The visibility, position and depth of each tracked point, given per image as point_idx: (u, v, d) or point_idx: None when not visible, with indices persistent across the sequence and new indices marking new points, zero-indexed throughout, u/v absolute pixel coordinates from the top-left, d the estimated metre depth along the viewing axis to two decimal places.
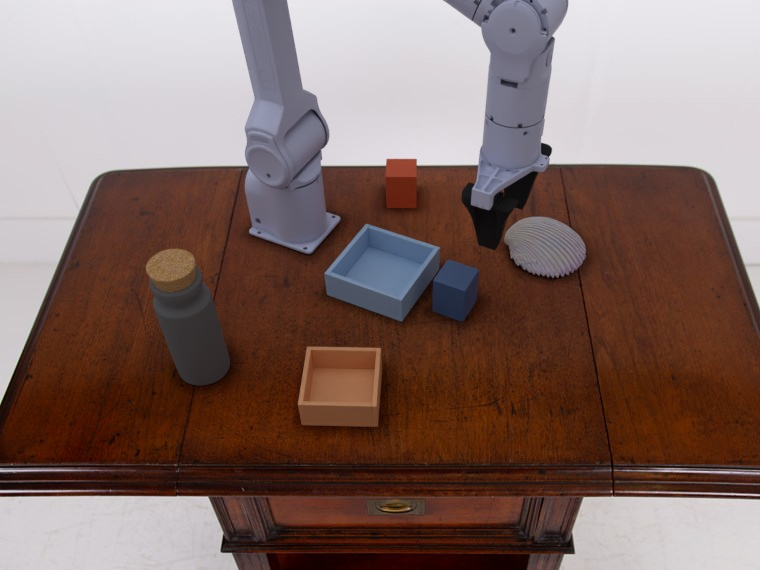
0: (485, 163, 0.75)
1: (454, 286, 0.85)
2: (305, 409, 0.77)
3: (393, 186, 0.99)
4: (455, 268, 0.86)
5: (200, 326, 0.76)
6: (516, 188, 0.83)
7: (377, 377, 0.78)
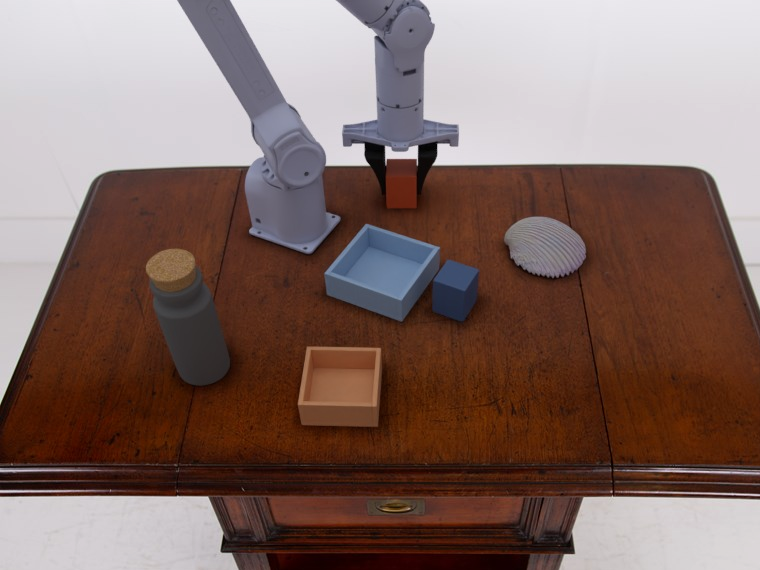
0: None
1: (454, 286, 0.85)
2: (305, 409, 0.77)
3: (393, 186, 0.99)
4: (455, 268, 0.86)
5: (200, 326, 0.76)
6: (417, 174, 1.00)
7: (377, 377, 0.78)
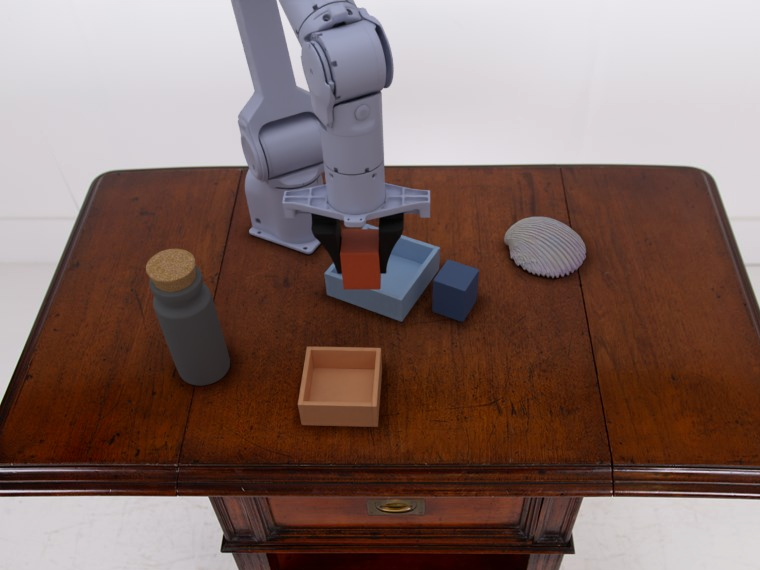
0: None
1: (454, 286, 0.85)
2: (305, 409, 0.77)
3: (350, 264, 0.79)
4: (455, 268, 0.86)
5: (200, 326, 0.76)
6: None
7: (377, 377, 0.78)
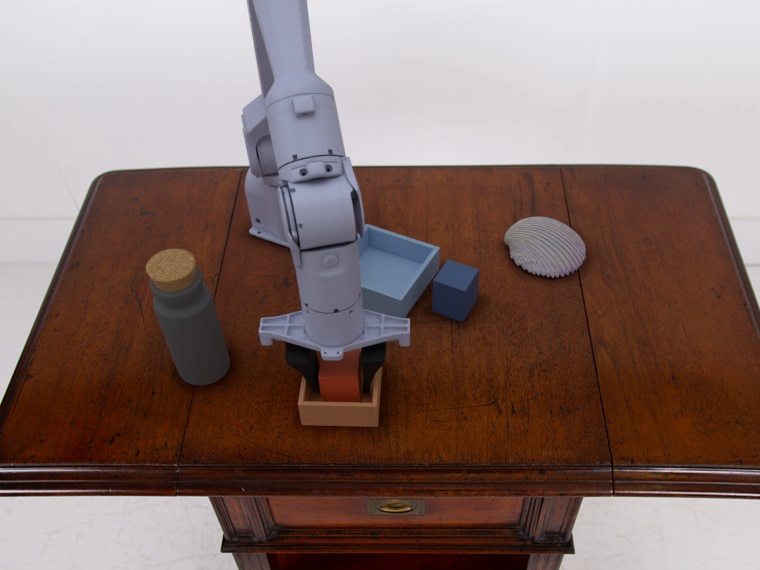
0: None
1: (454, 286, 0.85)
2: (305, 409, 0.77)
3: (329, 386, 0.77)
4: (455, 268, 0.86)
5: (200, 326, 0.76)
6: None
7: (377, 377, 0.78)
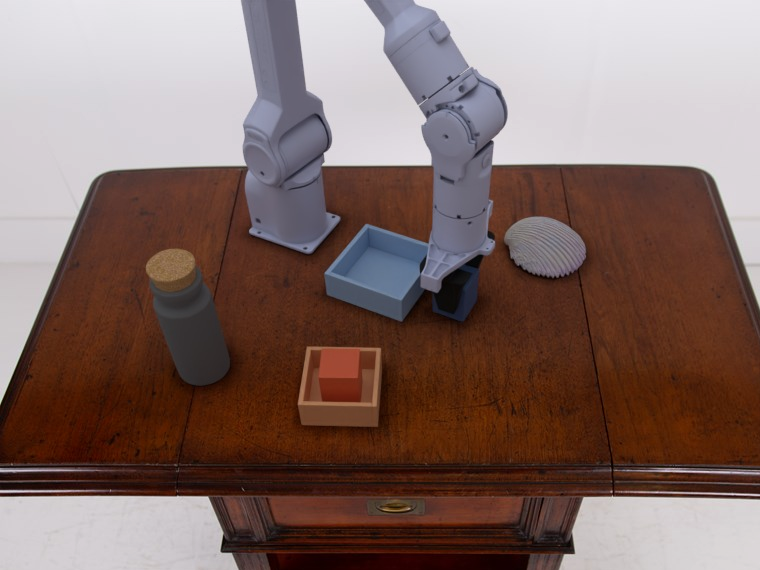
0: (434, 247, 0.81)
1: None
2: (305, 409, 0.77)
3: (329, 386, 0.77)
4: None
5: (200, 326, 0.76)
6: None
7: (377, 377, 0.78)
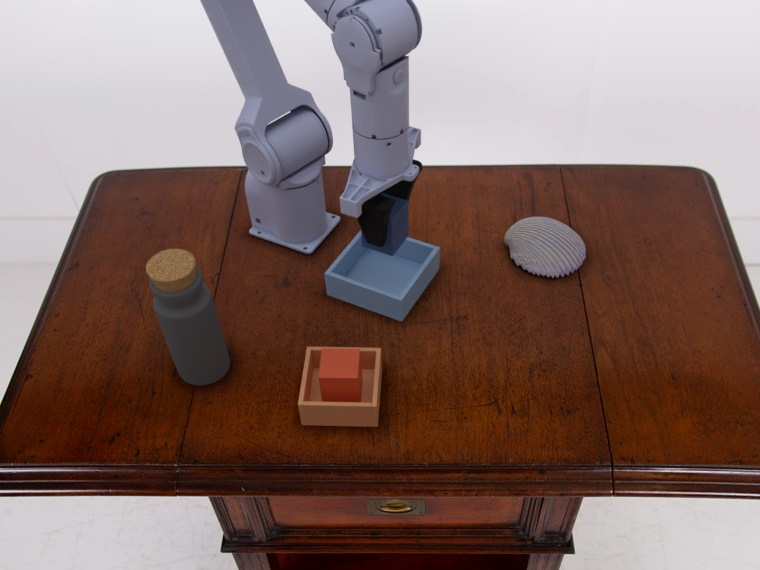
0: (356, 172, 0.78)
1: None
2: (305, 409, 0.77)
3: (329, 386, 0.77)
4: None
5: (200, 326, 0.76)
6: None
7: (377, 377, 0.78)
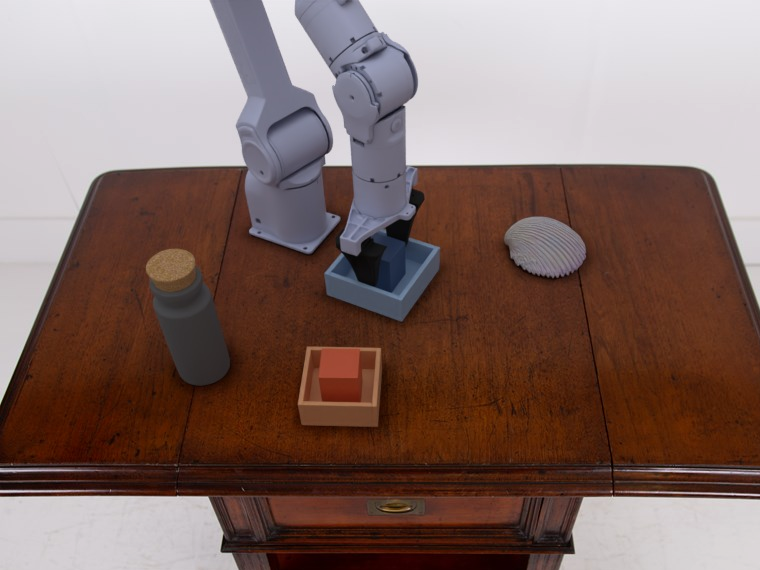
0: (356, 212, 0.82)
1: None
2: (305, 409, 0.77)
3: (329, 386, 0.77)
4: (382, 241, 0.89)
5: (200, 326, 0.76)
6: (396, 230, 0.90)
7: (377, 377, 0.78)
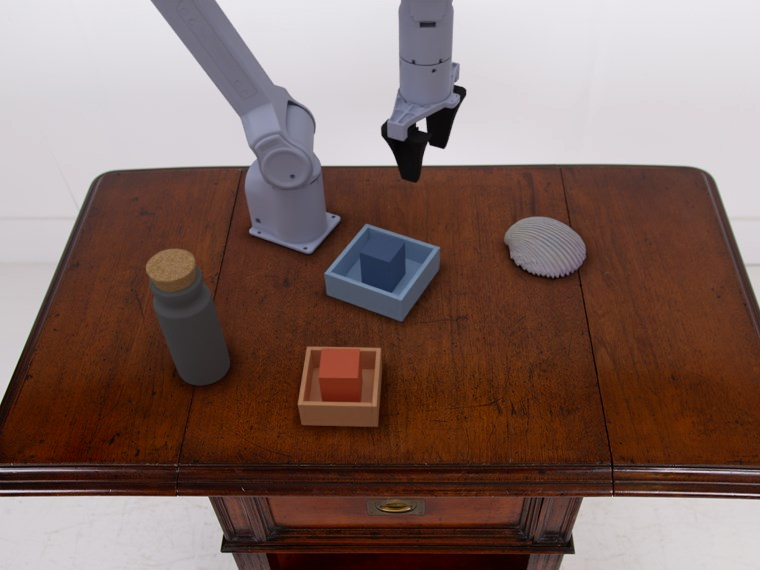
0: (401, 100, 0.84)
1: (379, 257, 0.87)
2: (305, 409, 0.77)
3: (329, 386, 0.77)
4: (382, 241, 0.89)
5: (200, 326, 0.76)
6: (437, 128, 0.92)
7: (377, 377, 0.78)
